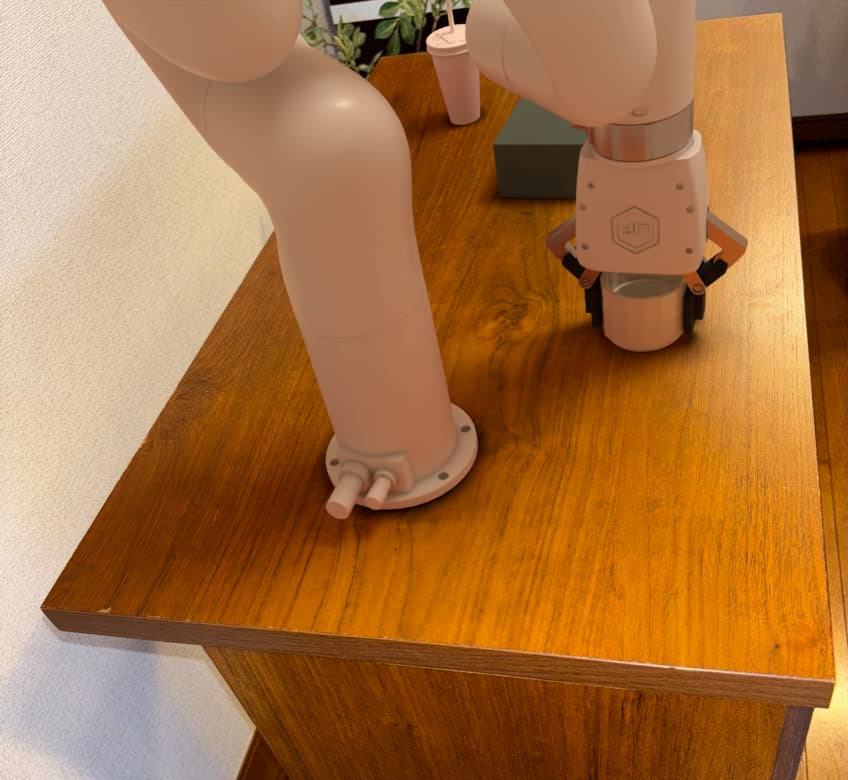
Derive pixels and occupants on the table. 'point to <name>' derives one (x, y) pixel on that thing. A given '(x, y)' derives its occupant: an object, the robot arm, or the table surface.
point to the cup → (642, 309)
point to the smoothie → (455, 71)
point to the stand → (537, 154)
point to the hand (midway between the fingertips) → (644, 320)
